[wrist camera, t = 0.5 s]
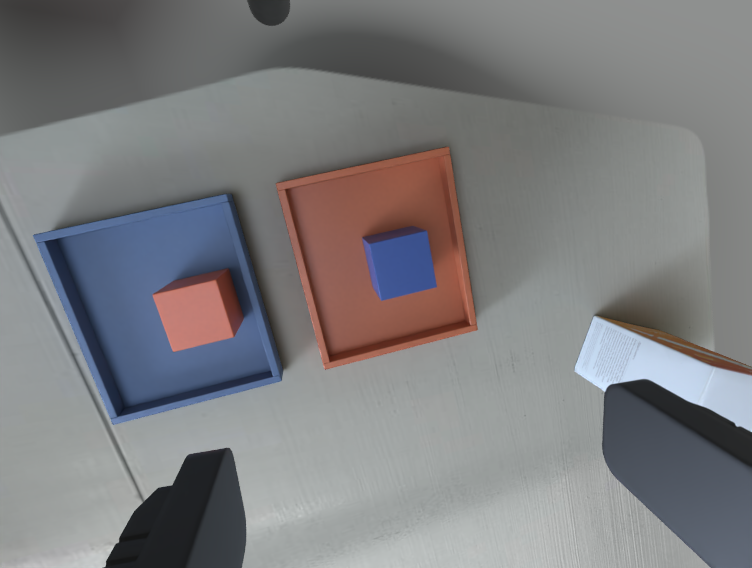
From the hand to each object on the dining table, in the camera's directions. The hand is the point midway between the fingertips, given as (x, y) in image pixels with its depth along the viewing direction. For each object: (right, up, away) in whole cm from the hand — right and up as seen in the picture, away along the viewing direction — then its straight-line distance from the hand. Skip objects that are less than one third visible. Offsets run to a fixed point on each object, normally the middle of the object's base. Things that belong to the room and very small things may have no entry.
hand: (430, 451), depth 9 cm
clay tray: (-1, +6, +28) cm, 28 cm away
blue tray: (-18, +2, +26) cm, 32 cm away
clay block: (-15, +2, +26) cm, 30 cm away
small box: (+24, -3, +34) cm, 41 cm away
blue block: (0, +6, +27) cm, 28 cm away
